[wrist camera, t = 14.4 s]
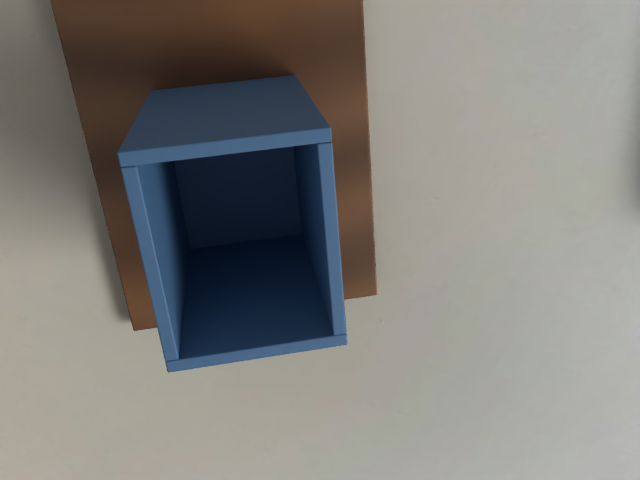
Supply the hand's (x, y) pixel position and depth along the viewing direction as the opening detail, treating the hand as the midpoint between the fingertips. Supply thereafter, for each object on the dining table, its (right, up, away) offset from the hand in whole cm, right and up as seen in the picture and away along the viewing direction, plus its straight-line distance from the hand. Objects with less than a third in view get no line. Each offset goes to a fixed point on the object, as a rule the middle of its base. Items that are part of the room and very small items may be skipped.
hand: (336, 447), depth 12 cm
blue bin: (-5, +8, +24) cm, 26 cm away
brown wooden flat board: (-5, +9, +25) cm, 27 cm away
